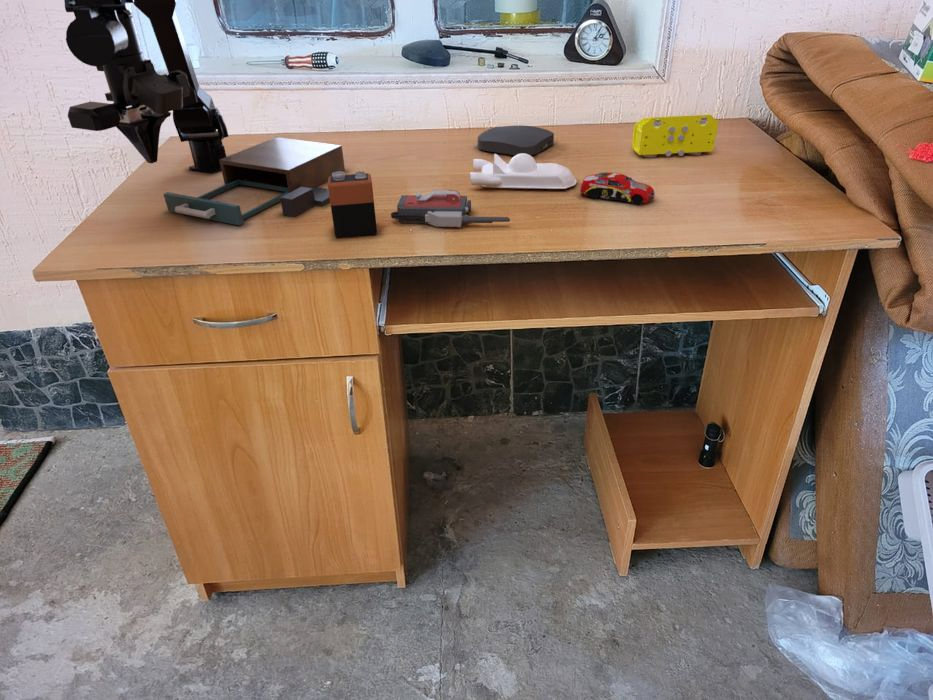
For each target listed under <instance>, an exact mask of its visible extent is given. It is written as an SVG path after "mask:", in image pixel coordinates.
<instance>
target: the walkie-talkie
mask: <svg viewBox="0 0 933 700" xmlns="http://www.w3.org/2000/svg"><path fill="white" fill-rule="evenodd" d="M396 208H397V211H393V212H392V211H391V213H390V218H391V219H393V220H397V221H398V222H399V223H402V224H428V225H432V226H434V227H437V228H440V227H441V228H462V225H467V224H468V225H469V224H492V223H497V222H498V223H501V222H502V223H510V217H508V216H470V215H468V214H467V213H471V212H472V200H471V199H468V195H461V193H460V191H458V190H455V189H449V190H446V189H434V190H433V191H431V192H430V193H428V194H422V192H421V191H417V192H416V194H401V196H400V198H399V200H398V202H397V206H396Z"/></svg>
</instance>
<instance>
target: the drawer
mask: <svg viewBox="0 0 933 700" xmlns="http://www.w3.org/2000/svg"><path fill="white" fill-rule="evenodd" d="M238 185H242V186H248V187H254V188H260V189H266V190H273V191H277V192H283V193H281V194H279V195H277V196H275V197H273V198H271V199H269V200H267V201H265V202H263V203H261V204H259V205H257V206H255V207H253V208H251V209H250V210H248V211H245V212H243V213H242V210H241V205H240V204H237V203H236V204H234V203H230V202H226V201H225V202H223V201H219V200H213V199H209V198H213V197H214V196H217V195H219V194H221V193H223V192H225V191H228V190H230V189H232V188H234V187H236V186H238ZM288 193H289V189H288V186H283V185H277V184H270V183H264V182H258V181H252V180H248V179H247V180H240V179H238V180H235V181H233V182H231V183H229V184H226V185H225V184H224V185H222V186H219V187H217V188H215V189H213V190H211V191H208V192H206V193H204V194H202V195H199V196H197V197H196V196H192V195H185V194H181V193H175V192H169V191H167V192H164V193H163V198H164V201H165V205H166V208H167V211H168V212H170V213H175V214H180V215H184V216H189V217H193V218H200V219H204V220H209V221H215V222H220V223H224V224H229V225H235V226H241V225H243V224H244V223H245V222H244V220H246V219H249V218H250V217H252V216H254V215H256V214H258V213H259V212H261V211H263V210H266V209H267V208H269V207H272V206H273V205H275V204H277V203H279V202H281V201H280V197H282V196H284V195H286V194H288Z"/></svg>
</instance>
